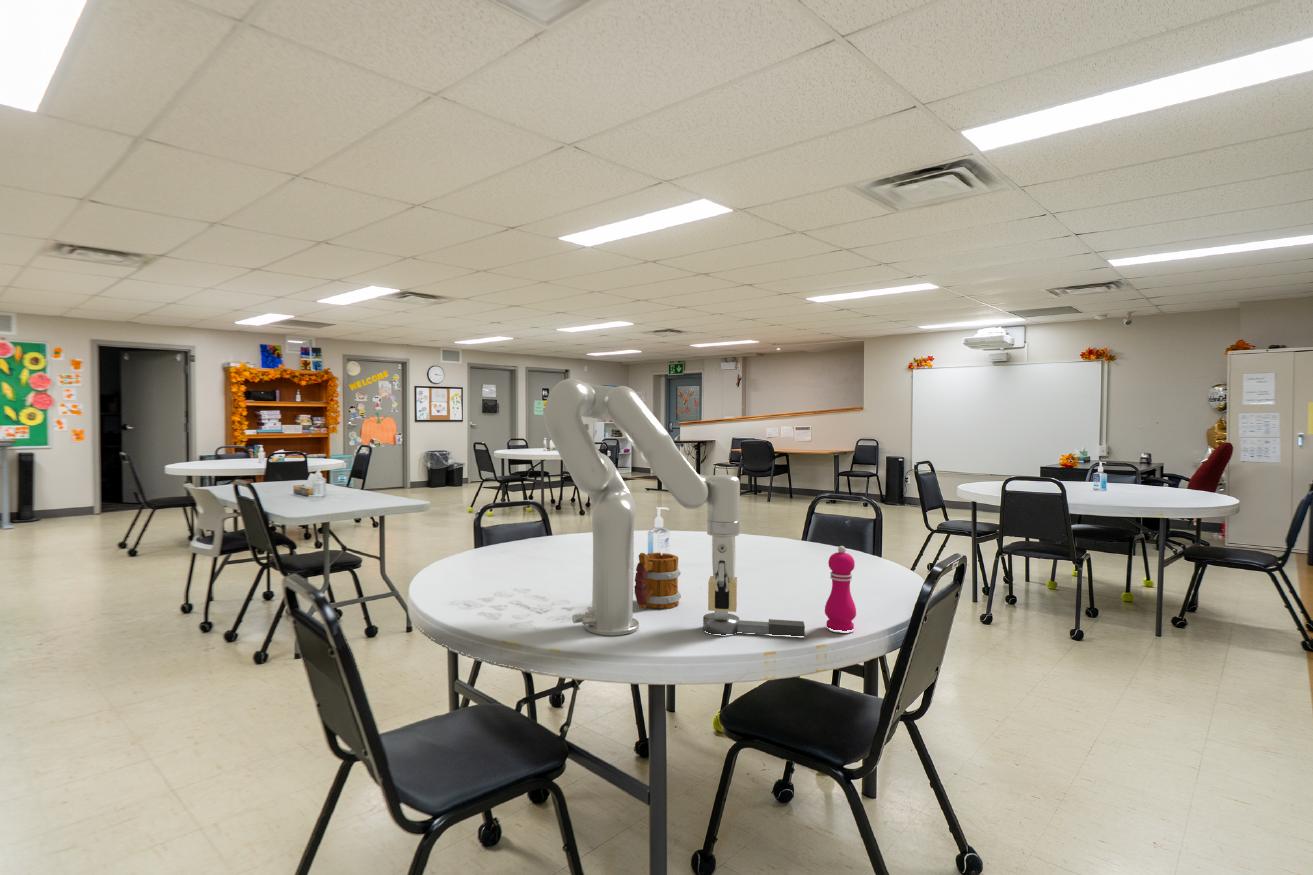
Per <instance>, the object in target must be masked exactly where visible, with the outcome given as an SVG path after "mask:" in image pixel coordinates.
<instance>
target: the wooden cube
mask: <svg viewBox="0 0 1313 875" xmlns="http://www.w3.org/2000/svg"><path fill="white" fill-rule="evenodd" d="M724 578H727V577H724ZM724 582H726V581H724ZM707 587H708V590H707V591H708V593H707V594H708V595H707V596H708V597H707V598H708V599H707V601H708V602H707V611H710V612H711V611H713V612H715V611H728V613H729V612H730V613H731V612H732V613H733V612H734V613H736V612H737V607H738V606H737V605H738V577H737V576H735V578H734V579H733V580H732V579H731V578H729V577H728V591H729V609H716V608H715V591H716V579H715V578H714V577H713V575H710V576H709V578H708V585H707ZM725 587H726V586H725Z"/></svg>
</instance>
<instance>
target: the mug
mask: <svg viewBox="0 0 1313 875" xmlns="http://www.w3.org/2000/svg"><path fill="white" fill-rule="evenodd" d="M635 571H636V572H635V577H634V583H635V584H634V585H633V589H634V595H635V599H636V603H637V604H638V605H639V608H640V609H646V608H648V609H653V608H655V610H656V608H658V609H659V610H663V609H666V608H668V609H674V608H675V607H679V605H678V604H680V602H679V600H680V599H681V598H682V595H681V593H680V591H679V590H678V589H679V582H678V581H679V576H680V575H681V574H682V573H681V571H680V569H679V557H678V556H677V555H675V554H671V553H665V552H664V553H662V554H661V552H650V553H647V554H646V552H640V553H639V555H638V563H637V565H636V568H635ZM673 607H674V608H673Z"/></svg>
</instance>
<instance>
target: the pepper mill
mask: <svg viewBox="0 0 1313 875" xmlns="http://www.w3.org/2000/svg"><path fill="white" fill-rule="evenodd" d="M827 563H828V567H829V569H830V570H831V572H830V575H829V578H830V579H831V581H832V582H831V584H832V585H831V591H830V594H829V596H828V598H827V599H826V600H827V601H826V603H825V606H824V614H825V616H826V617H827V618H828V619H827V620H826V626H827V627H828V628H831V629H833V630H842V631H847V630H852V629H854V628H855V624H854V622H853V620H854V619H855V618H856V617H857V608H856V603H855V601H854V600H853V597H852V594H851V581H852V580H853V574H852V571H853V570H854V569H855V566H856V565H855V560H854V557H853V556H852V555H850V554H849V553H847V552H846V547H845V546H844V545H840V546H838V548H837V552H834V553H832V554H831V555H830V556H829V558H828V562H827ZM854 630H855V629H854Z"/></svg>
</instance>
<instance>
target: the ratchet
mask: <svg viewBox="0 0 1313 875" xmlns="http://www.w3.org/2000/svg"><path fill="white" fill-rule="evenodd" d="M702 627H703V628H702V631H703V630H704V631H706V632H708V633H711V634H721V635H726V634H735V633H737V632H742V633H755V634H772V635H791V636H805V632H806V631H805V628H806V627H805V622H804V621H802V620H801V621H800V620H790V619H789V620H788V619H786V620H785V619H772V618H770V619H769V618H768V621H756V620H741V619H740V617H739V616H738V615H735V614H732V613H729V611H714V612H710V613H706V614H704V615H703V618H702ZM704 631H703V632H704ZM805 637H806V636H805Z"/></svg>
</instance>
